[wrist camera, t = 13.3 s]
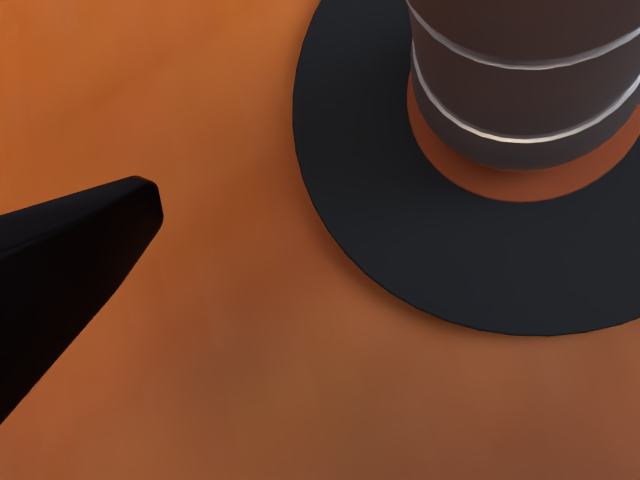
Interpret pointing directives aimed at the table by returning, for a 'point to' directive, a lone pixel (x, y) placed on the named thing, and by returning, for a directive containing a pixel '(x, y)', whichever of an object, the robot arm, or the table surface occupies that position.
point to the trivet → (457, 194)
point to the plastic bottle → (525, 76)
